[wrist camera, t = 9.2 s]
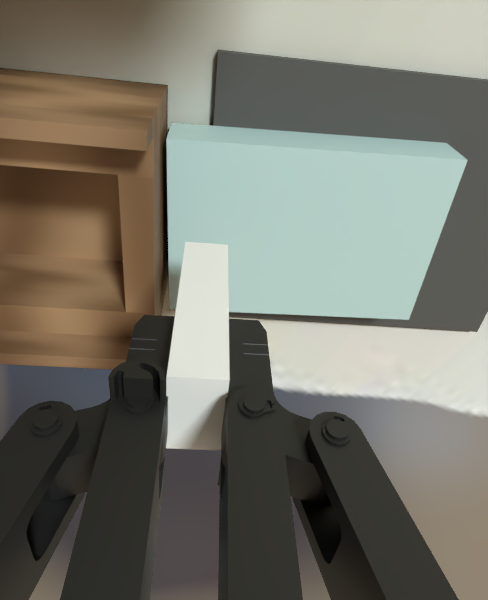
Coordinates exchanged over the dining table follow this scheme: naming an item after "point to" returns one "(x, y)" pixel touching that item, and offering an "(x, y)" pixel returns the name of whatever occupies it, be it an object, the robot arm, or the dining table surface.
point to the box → (79, 216)
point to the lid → (310, 216)
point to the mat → (381, 124)
